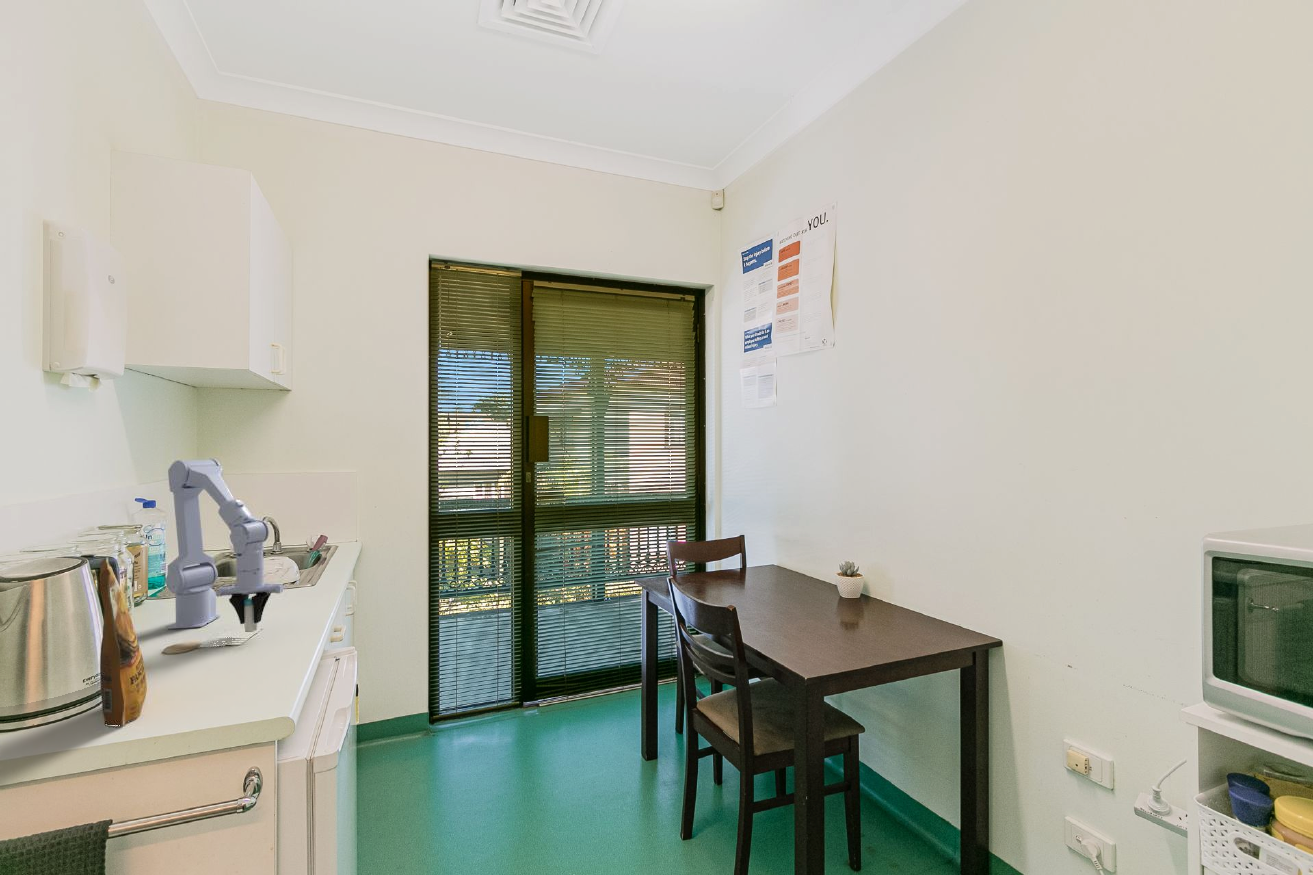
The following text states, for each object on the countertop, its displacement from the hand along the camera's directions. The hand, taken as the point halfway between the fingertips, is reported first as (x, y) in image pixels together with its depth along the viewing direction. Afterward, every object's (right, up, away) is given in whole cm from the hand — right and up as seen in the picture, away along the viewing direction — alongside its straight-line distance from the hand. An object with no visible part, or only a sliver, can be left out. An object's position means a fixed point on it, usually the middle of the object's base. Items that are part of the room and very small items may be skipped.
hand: (250, 622), depth 152 cm
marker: (0, -2, 0) cm, 2 cm away
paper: (-2, -3, -4) cm, 5 cm away
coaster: (-9, -3, -11) cm, 14 cm away
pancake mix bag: (+5, -3, -43) cm, 43 cm away
